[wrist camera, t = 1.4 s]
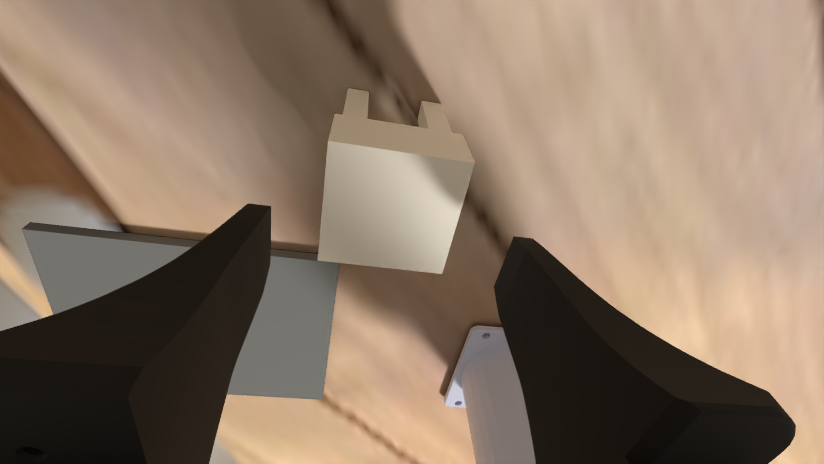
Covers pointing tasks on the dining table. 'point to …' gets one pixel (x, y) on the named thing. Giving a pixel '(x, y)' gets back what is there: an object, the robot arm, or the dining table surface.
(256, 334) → the mat
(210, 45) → the dining table surface
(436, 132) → the cream block with pegs
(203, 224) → the dining table surface
